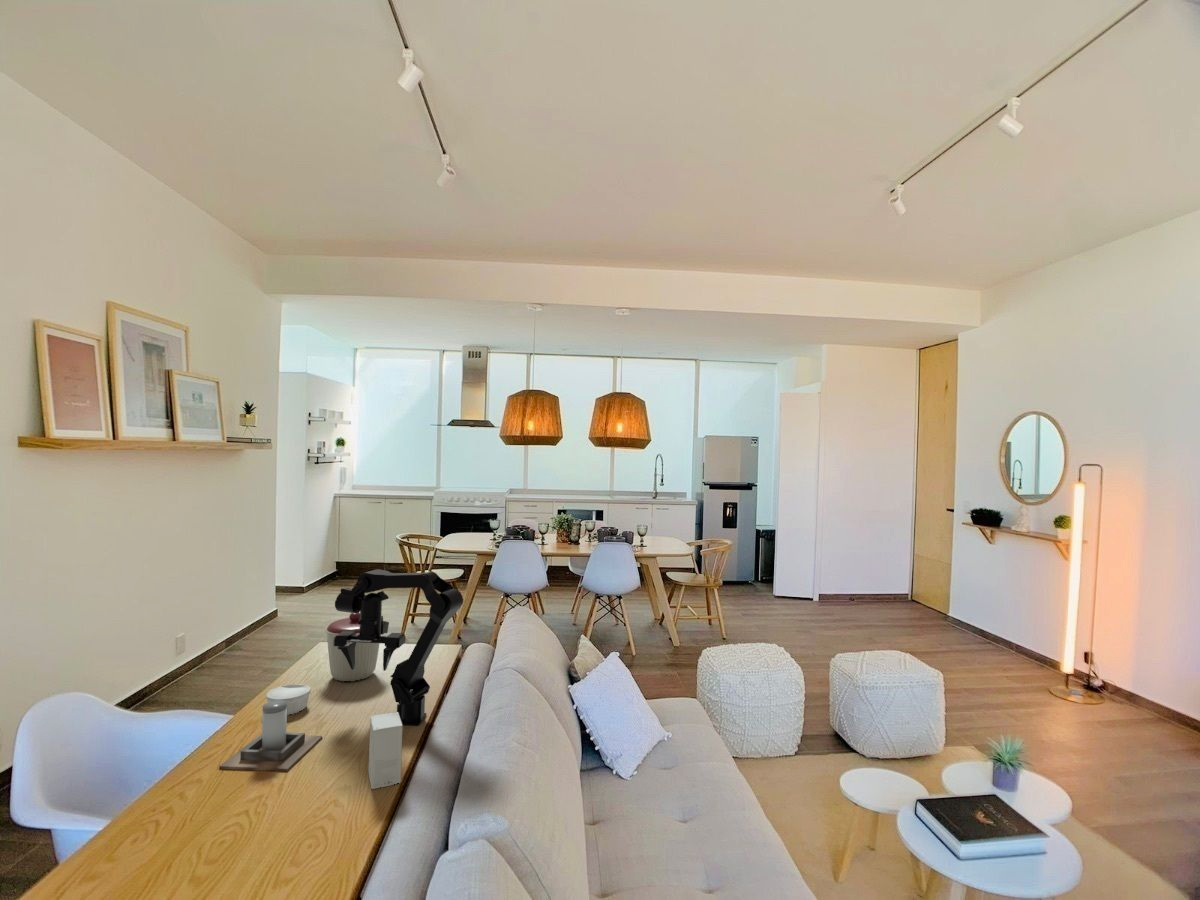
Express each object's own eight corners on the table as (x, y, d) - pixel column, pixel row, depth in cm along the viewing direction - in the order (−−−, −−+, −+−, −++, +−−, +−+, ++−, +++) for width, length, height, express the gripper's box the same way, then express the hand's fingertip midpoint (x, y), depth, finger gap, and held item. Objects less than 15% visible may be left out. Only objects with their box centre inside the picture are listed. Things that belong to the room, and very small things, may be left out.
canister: (321, 690, 180) (324, 621, 181) (323, 670, 197) (325, 607, 197) (383, 682, 188) (386, 617, 188) (380, 663, 204) (382, 603, 204)
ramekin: (312, 699, 173) (313, 681, 174) (306, 715, 163) (307, 696, 163) (270, 703, 170) (271, 685, 170) (261, 720, 159) (262, 701, 159)
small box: (401, 783, 130) (403, 725, 130) (370, 790, 127) (372, 730, 128) (396, 766, 137) (398, 710, 138) (368, 772, 135) (369, 715, 135)
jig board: (322, 738, 150) (322, 728, 150) (287, 771, 134) (287, 760, 134) (261, 735, 150) (261, 725, 150) (219, 768, 134) (219, 757, 134)
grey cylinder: (290, 748, 143) (291, 703, 143) (269, 757, 139) (270, 711, 139) (278, 742, 146) (279, 698, 146) (257, 751, 141) (258, 706, 141)
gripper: (412, 608, 174) (411, 661, 174) (351, 606, 175) (349, 658, 174) (399, 618, 163) (397, 674, 163) (333, 616, 163) (331, 672, 163)
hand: (368, 669), depth 166 cm, fingers open, 9 cm apart
